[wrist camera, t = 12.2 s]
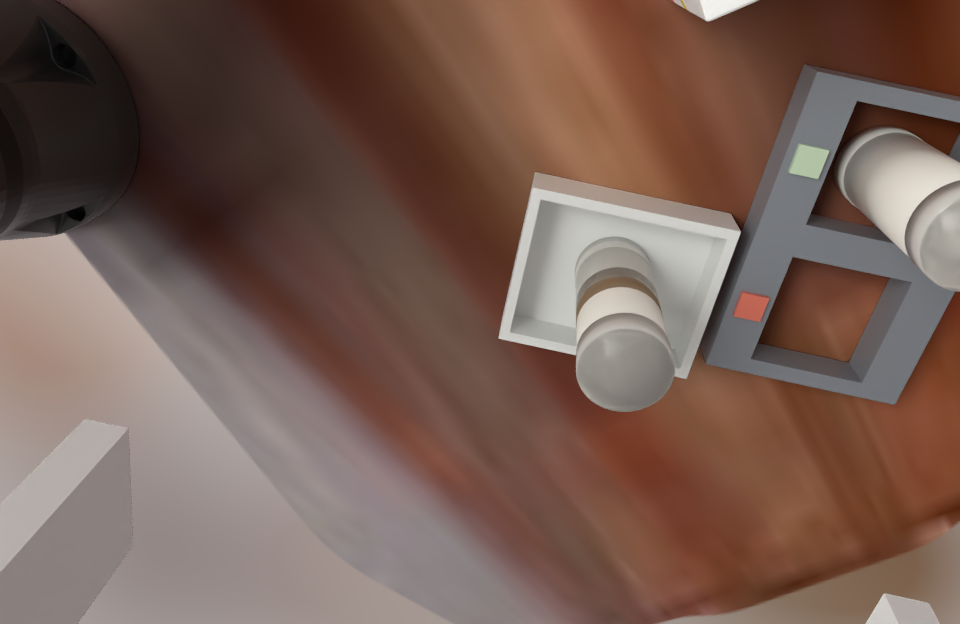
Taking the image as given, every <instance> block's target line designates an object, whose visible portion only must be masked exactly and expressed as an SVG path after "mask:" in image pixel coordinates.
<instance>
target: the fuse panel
mask: <svg viewBox="0 0 960 624" xmlns="http://www.w3.org/2000/svg"><path fill="white" fill-rule="evenodd" d="M857 101H860V102H865V103H869V104H874V105H879V106H884V107H888V108H893V109H898V110H902V111H907V112H912V113H917V114H921V115H926V116H931V117H936V118H940V119H945V120H950V121H955V122H959V123H960V97H958V96H954V95H949V94H944V93H939V92H935V91H930V90H925V89H920V88H916V87H911V86H906V85H901V84H897V83H892V82H887V81H882V80H878V79H873V78H868V77H863V76H859V75H854V74H849V73H844V72H840V71H835V70H830V69H825V68H821V67H816V66H811V65H806V64H804V65H803V68H802V70H801V73H800V76H799V79H798V81H797V84H796V87H795V89H794V92H793V95H792V97H791V100H790V103H789V106H788V108H787V111H786V114H785V116H784V119H783V122H782V124H781V127H780V130H779V132H778V135H777V138H776V141H775V143H774V146H773V149H772V151H771V154H770V157H769V159H768V162H767V165H766V167H765V170H764V173H763V176H762V178H761V181H760V184H759V186H758V189H757V192H756V194H755V197H754V200H753V203H752V205H751V208H750V211H749V213H748V216H747V219H746V221H745V224H744V227H743V229H742V232H741V235H740V238H739V240H738V243H737V246H736V248H735V251H734V254H733V256H732V259H731V262H730V264H729V267H728V270H727V273H726V275H725V278H724V281H723V283H722V286H721V289H720V291H719V294H718V297H717V300H716V302H715V305H714V308H713V310H712V313H711V316H710V318H709V321H708V324H707V326H706V329H705V332H704V335H703V337H702V340H701V343H700V347H701V350H702V354H703V357H704V360H705V363H706V364H707V365H712V366H717V367H721V368H726V369H731V370H735V371H740V372H744V373H749V374H754V375H758V376H763V377H768V378H772V379H777V380H782V381H786V382H791V383H796V384H800V385H805V386H809V387H814V388H819V389H823V390H828V391H833V392H837V393H842V394H847V395H851V396H856V397H861V398H865V399H870V400H874V401H879V402H884V403H888V404H893V405H895V403H896V402H897V400H898V398H899V396H900V394H901V392H902V390H903V388H904V387H905V385H906V383H907V381H908V379H909V377H910V375H911V373H912V372H913V370H914V368H915V366H916V364H917V362H918V360H919V358H920V357H921V355H922V353H923V351H924V349H925V347H926V345H927V343H928V342H929V340H930V338H931V336H932V334H933V332H934V330H935V328H936V327H937V325H938V323H939V321H940V319H941V317H942V315H943V313H944V312H945V310H946V308H947V306H948V304H949V302H950V300H951V298H952V297H953V295H954V293H955V291H952V290H948V289H945V288H943V287H940V286H939V285H937V284H935V283H934V282H933V281H932V280H930V279H929V278H928V277H927V276H926V275H925V274H924V273H923V272H922V271H921V270H920V269H919V268H918V267H917V266H916V265H915V264H914V263H913V262H912V261H911V259H910V258H909V257H908V256H907V255H906V254H905V253H904V252H903V251H902V250H901V249H900V248H899V247H898V246H897V245H895V244H894V243H893V242H892V241H891V240H890V239H889V238H888V237H887V236H886V235H885V234H884V233H883V232H882V231H881V230H880V229H879V228H875V227H870V226H865V225H861V224H856V223H851V222H847V221H842V220H837V219H833V218H828V217H823V216H818V215H814V214H811V211H812V209H813V206H814V204H815V202H816V199H817V197H818V194H819V192H820V189H821V187H822V185H823V182H824V180H825V177H826V175H827V172H828V170H829V168H830V165H831V163H832V160H833V158H834V155H835V153H836V151H837V148H838V146H839V143H840V141H841V138H842V136H843V134H844V131H845V129H846V126H847V124H848V121H849V119H850V117H851V114H852V112H853V109H854V107H855V104H856V102H857ZM949 157H951V158H953V159H954V160H956V161H958V162H960V133H959V136H958V138H957V140H956V142H955V144H954V146H953V148H952V150H951V152H950V154H949ZM792 257H796V258H800V259H805V260H810V261H814V262H819V263H824V264H828V265H833V266H838V267H842V268H847V269H852V270H857V271H861V272H866V273H871V274H875V275H880V276H885V277H889V280H888V282H887V284H886V286H885V289H884V291H883V293H882V295H881V297H880V299H879V301H878V303H877V305H876V307H875V309H874V311H873V313H872V315H871V318H870V320H869V322H868V324H867V326H866V328H865V330H864V332H863V334H862V336H861V338H860V340H859V342H858V344H857V346H856V349H855V351H854V353H853V355H852V357H851V359H850V361H849V363H848V362H843V361H839V360H834V359H829V358H825V357H820V356H816V355H811V354H806V353H802V352H797V351H792V350H788V349H783V348H778V347H774V346H769V345H764V344H760V343H757V342H758V340H759V338H760V335H761V333H762V330H763V328H764V325H765V323H766V321H767V318H768V316H769V313H770V311H771V308H772V306H773V304H774V301H775V299H776V296H777V294H778V291H779V289H780V287H781V284H782V282H783V279H784V277H785V274H786V272H787V270H788V267H789V265H790V262H791V260H792Z"/></svg>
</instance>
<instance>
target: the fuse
mask: <svg viewBox="0 0 960 624" xmlns="http://www.w3.org/2000/svg"><path fill="white" fill-rule="evenodd" d="M834 180H835V184H836V186H837V188H838V190H839V192H840V193H841V194H842V195H843V196H844V197H845V198H846V199H847V200H848V201H849V202H850V203H851V204H852V205H854V206H855V207H856V208H858V209H859V210H860V211H861V212H862V213H863V214H864V215H865V216H866V217H867V218H868V219H869V220H870V221H871V222H872V223H874V224H875V225H876V226H877V227H878V228H879V229H880V230H881V231H882V232H883V233H884V234H885V235H886V236H887V237H888V238H889V239H890V240H891V241H892V242H893V243H894V244H895V245H897V246H898V247H899V248H900V249H901V250H902V251H903V252H904V253H905V254H906V255H907V256H908V257H909V258H910V259H911V261H912V262H913V263H914V264H915V265H916V266H917V267H918V268H919V269H920V270H921V271H922V272H923V273H924V274H925V275H926V276H927V277H928V278H929V279H930V280H932V281H933V282H934V283H935V284H937V285H939V286H940V287H943V288H945V289H948V290H952V291H958V292H960V162H958V161H956V160H954V159H953V158H951V157H949V156H948V155H946V154H944V153H943V152H941V151H939V150H937V149H936V148H934V147H932V146H931V145H929V144H927V143H926V142H924V141H923V140H922V139H920V138H919V137H917V136H916V135H914V134H912V133H911V132H909V131H907V130H906V129H903V128H901V127H898V126H894V125H877V126H873V127H870V128H867V129H865V130H863V131H861V132H859V133H857V134H856V135H854V136H853V137H852V138H851V139H850V140H849V141H848V142H846V144H845V145H844V146H843V147H842V149H841V150H840V152H839V154H838V156H837V158H836V161H835V165H834Z"/></svg>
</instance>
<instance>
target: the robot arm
mask: <svg viewBox="0 0 960 624" xmlns="http://www.w3.org/2000/svg"><path fill="white" fill-rule="evenodd" d="M138 151H139V128H138V120H137V115H136V110H135V106H134V103H133V99H132V96H131V93H130V90H129V88H128V86H127V83H126V81H125V79H124V77H123V75H122V73H121V71H120V69H119V67H118V65H117V64H116V62H115V60H114V59H113V57H112V56H111V54H110V53H109V51H108V50H107V49H106V47H105V46H104V45H103V43H102V42H101V41H100V40H99V38H98V37H97V36H96V35H95V34H94V33H93V32H92V31H91V30H90V28H88V27H87V26H86V25H85V24H84V23H83V22H82V21H81V20H80V19H79V18H78V17H77V16H75V15H74V14H73V13H72V12H70V11H69V10H68V9H66V8H65V7H64V6H62V5H61V4H59V3H58V2H56V1H54V0H0V240H12V239H24V238H36V237H47V236H53V235H58V234H62V233H65V232H68V231H71V230H74V229H76V228H78V227H80V226H82V225H84V224H86V223H88V222H89V221H91V220H93V219H94V218H96V217H98V216H99V215H101V214H102V213H104V212H106V211H107V210H108V209H109V208H111V207H112V206H113V205H114V204H115V203H116V202H117V201H118V200H119V199H120V197H121V196H122V195H123V193H124V192H125V190H126V189H127V187H128V185H129V183H130V181H131V179H132V176H133V174H134V171H135V167H136V163H137V158H138ZM131 502H132V501H131V475H130V449H129V428H125V427H121V426H116V425H112V424H107V423H102V422H98V421H93V420H89V419H84V420H83V421H82V422H81V423H80V424H79V425H78V426H77V428H75V429H74V430H73V431H72V432H71V433H70V434H69V435H68V436H67V438H65V439H64V440H63V441H62V442H61V444H60V445H58V446H57V447H56V448H55V450H54V451H52V452H51V454H49V456H47V458H46V459H44V461H42V462H41V463H40V464H39V465H38V466H37V467H36V468H35V469H34V471H32V472H31V473H30V474H29V475H28V476H27V477H26V479H24V481H23V482H21V484H19V486H17V487H16V488H15V489H14V490H13V492H12V493H11V494H10V495H9V496H8V497H7V498H6V499H5V500H4V501H3V502H2V503H1V504H0V624H78V622H79V621H80V620H81V618H82V617H83V615H84V614H85V613H86V611H87V610H88V608H89V607H90V606H91V604H92V603H93V601H94V600H95V599H96V597H97V596H98V594H99V593H100V592H101V590H102V589H103V587H104V586H105V585H106V583H107V581H108V580H109V579H110V578H111V576H112V575H113V573H114V572H115V571H116V569H117V568H118V566H119V565H120V564H121V562H122V560H123V559H124V558H125V557H126V555H127V554H128V552H129V551H130V550H131V548H132V547H133V527H132V503H131ZM866 624H940V623H939V621H938V619H937V618H936V616H935V614H934V612H933V610H932V608H931V606H930V604H929V603H927V602H922V601H918V600H913V599H908V598H904V597H899V596H894V595H890V594H886V593H884V594H883V596H882V598H881V599H880V601H879V602H878V604H877V606H876V607H875V609H874V611H873V612H872V614H871V616H870V617H869V619H868V620H867V622H866Z"/></svg>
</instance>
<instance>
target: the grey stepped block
mask: <svg viewBox="0 0 960 624" xmlns="http://www.w3.org/2000/svg"><path fill="white" fill-rule="evenodd" d="M671 1H673V2H674V3H676V4H678V5H679V6H681V7H683V8H684V9H686V10H688V11H690V12H691V13H693V14H695V15H697V16H698V17H700V18H702V19H704V20H705V21H707V22H708V21H712V20H714V19H717V18H719V17H722V16H724V15H726V14H729V13H731V12H734V11H736V10H738V9H740V8H743V7H745V6H747V5H750V4H752V3H754V2H756V1H759V0H671Z"/></svg>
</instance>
